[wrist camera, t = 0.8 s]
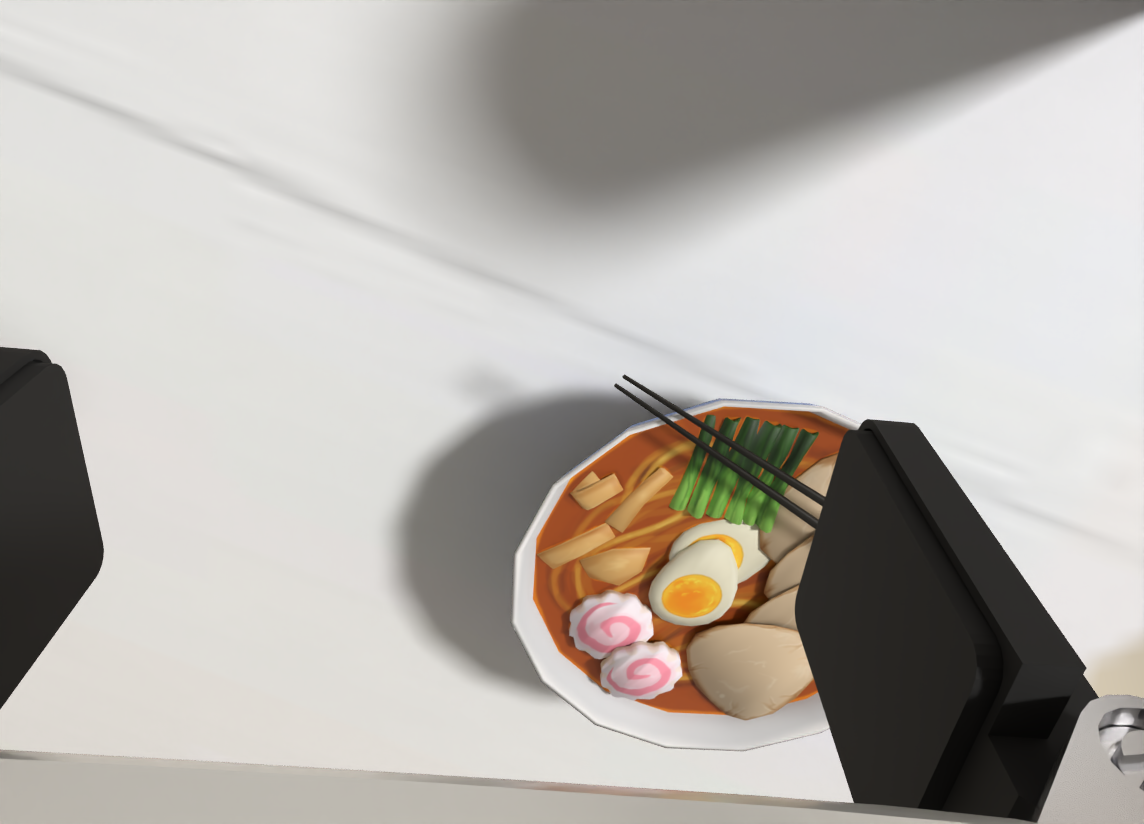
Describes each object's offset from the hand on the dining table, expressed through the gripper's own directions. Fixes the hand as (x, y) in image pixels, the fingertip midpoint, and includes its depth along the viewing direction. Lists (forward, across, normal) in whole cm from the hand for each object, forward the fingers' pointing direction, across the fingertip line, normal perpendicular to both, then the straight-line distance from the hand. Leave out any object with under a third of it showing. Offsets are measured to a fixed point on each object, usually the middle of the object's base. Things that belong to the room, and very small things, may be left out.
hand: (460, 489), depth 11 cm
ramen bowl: (+32, -12, +22) cm, 40 cm away
